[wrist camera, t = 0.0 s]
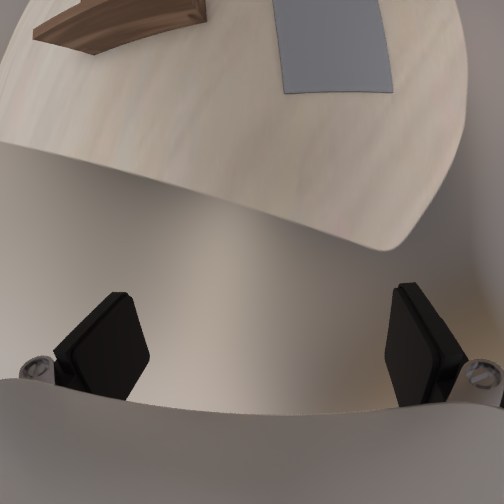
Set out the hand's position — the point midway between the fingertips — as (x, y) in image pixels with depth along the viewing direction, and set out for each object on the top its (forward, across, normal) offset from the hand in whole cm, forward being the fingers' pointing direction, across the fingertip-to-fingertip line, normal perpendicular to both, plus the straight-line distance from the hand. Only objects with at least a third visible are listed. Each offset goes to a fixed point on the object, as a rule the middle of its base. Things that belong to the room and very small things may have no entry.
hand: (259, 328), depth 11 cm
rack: (+32, +17, -33) cm, 49 cm away
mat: (+32, -8, -19) cm, 38 cm away
